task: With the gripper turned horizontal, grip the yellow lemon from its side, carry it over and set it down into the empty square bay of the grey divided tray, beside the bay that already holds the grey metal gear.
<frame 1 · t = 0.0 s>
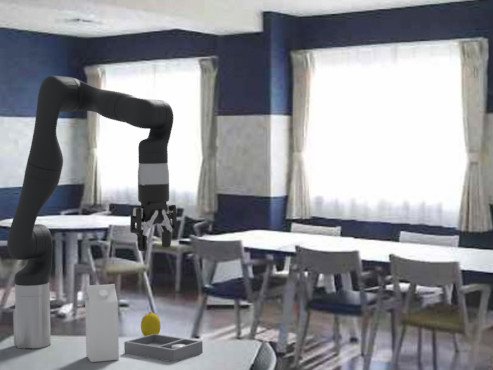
hand: (154, 249, 202), 29 cm above the table, tool pointing down, fingers open, 8 cm apart
milk carton: (102, 359, 214), on the table
lemon: (150, 340, 234), on the table
grey divided tray: (163, 352, 219), on the table
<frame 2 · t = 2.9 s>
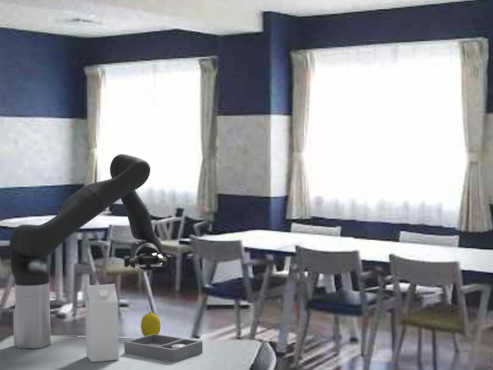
hand: (148, 264, 242), 20 cm above the table, tool horizontal, fingers open, 8 cm apart
nothing on the table moved.
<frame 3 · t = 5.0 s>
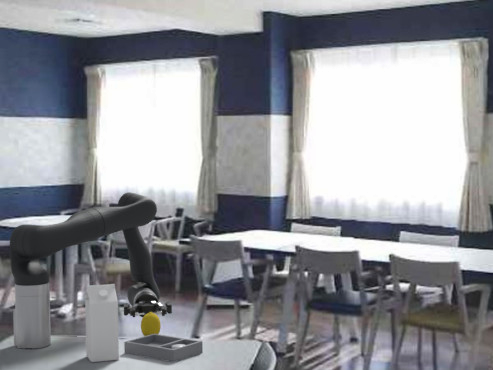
hand: (148, 313, 242), 6 cm above the table, tool horizontal, fingers open, 8 cm apart
nothing on the table moved.
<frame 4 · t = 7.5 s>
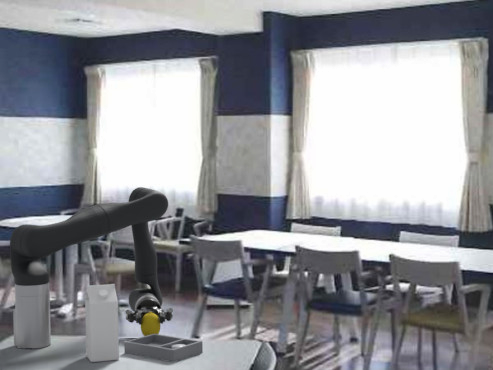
hand: (151, 320, 231), 6 cm above the table, tool horizontal, fingers closed on lemon, 5 cm apart
lemon: (150, 340, 234), on the table, touching gripper
everything else where it was.
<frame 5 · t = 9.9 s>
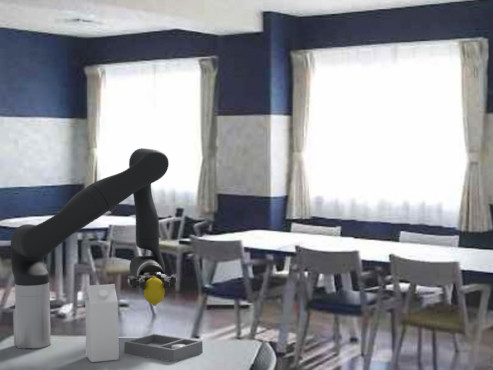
hand: (154, 285, 220), 18 cm above the table, tool horizontal, fingers closed on lemon, 5 cm apart
lemon: (154, 306, 222), point 11 cm above the table, touching gripper
everything else where it was.
when the fingers open (8 cm above the table, at t = 12.5 s): lemon drops 1 cm, resting on grey divided tray.
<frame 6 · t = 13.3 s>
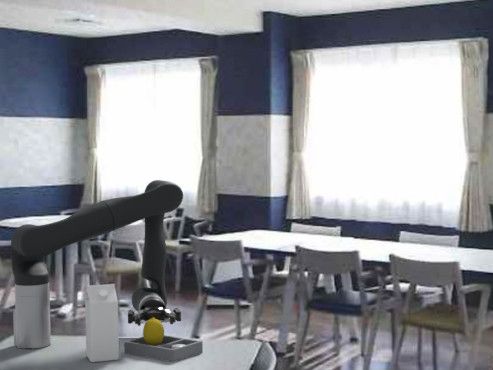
hand: (155, 321, 218), 8 cm above the table, tool horizontal, fingers open, 8 cm apart
lemon: (154, 348, 220), point 1 cm above the table, touching grey divided tray
everything else where it was.
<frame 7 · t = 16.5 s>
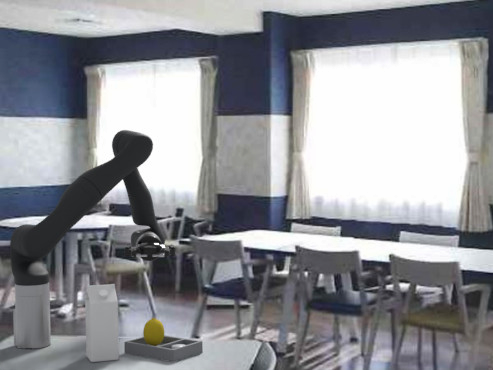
hand: (150, 253, 229), 25 cm above the table, tool horizontal, fingers open, 8 cm apart
nothing on the table moved.
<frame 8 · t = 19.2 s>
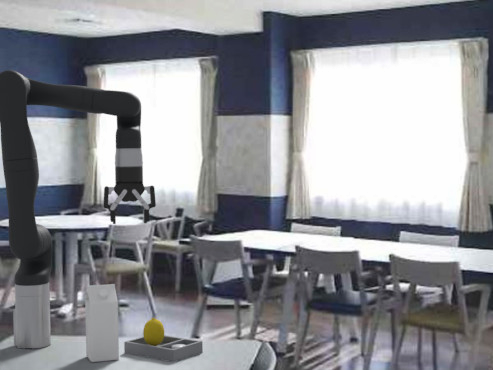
hand: (129, 223, 231), 33 cm above the table, tool pointing down, fingers open, 8 cm apart
nothing on the table moved.
at the end: lemon inside the target area on the grey divided tray (0.4 cm from its centre), point 0.8 cm above the grey divided tray's base; the gripper is holding nothing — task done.
